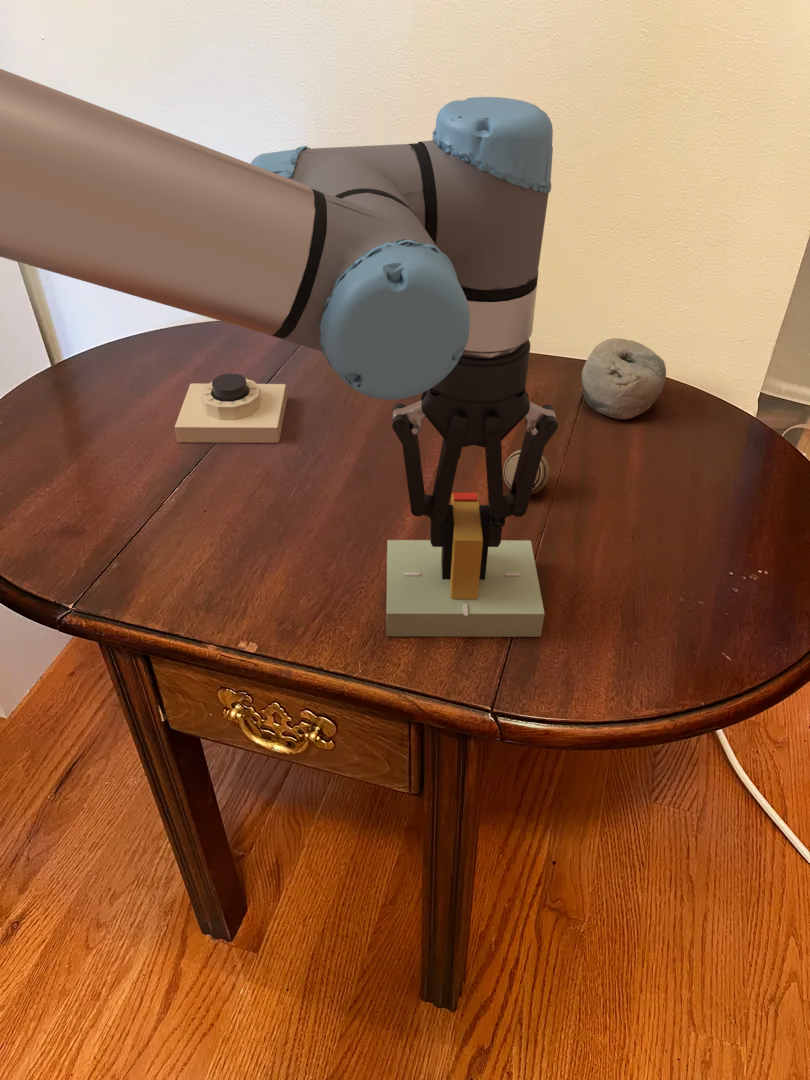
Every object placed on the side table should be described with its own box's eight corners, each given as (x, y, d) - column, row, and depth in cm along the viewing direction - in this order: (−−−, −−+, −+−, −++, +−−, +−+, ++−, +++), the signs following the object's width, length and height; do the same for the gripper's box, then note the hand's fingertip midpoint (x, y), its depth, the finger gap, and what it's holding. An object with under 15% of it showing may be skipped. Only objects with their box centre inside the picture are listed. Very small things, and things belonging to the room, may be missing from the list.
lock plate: (386, 639, 75) (386, 615, 73) (387, 560, 84) (387, 536, 82) (541, 639, 76) (545, 615, 74) (527, 560, 84) (530, 536, 82)
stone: (551, 374, 104) (604, 309, 103) (586, 409, 112) (637, 350, 110) (604, 412, 98) (662, 343, 96) (638, 447, 105) (692, 384, 104)
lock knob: (477, 599, 75) (483, 538, 70) (450, 599, 75) (454, 537, 70) (473, 551, 80) (478, 491, 75) (448, 551, 80) (451, 491, 75)
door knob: (496, 479, 94) (499, 442, 91) (538, 474, 95) (543, 437, 92) (508, 506, 90) (513, 468, 87) (552, 501, 91) (558, 463, 88)
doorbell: (177, 442, 99) (171, 413, 96) (192, 398, 106) (188, 370, 104) (279, 443, 99) (276, 414, 96) (287, 398, 107) (284, 370, 104)
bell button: (211, 403, 99) (209, 390, 98) (216, 385, 102) (214, 373, 101) (245, 403, 99) (243, 390, 98) (249, 386, 102) (248, 373, 101)
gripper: (577, 313, 65) (541, 543, 80) (376, 311, 65) (379, 542, 80) (593, 360, 59) (552, 598, 74) (373, 358, 59) (377, 597, 74)
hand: (463, 569), depth 77 cm, fingers closed on lock knob, 2 cm apart
